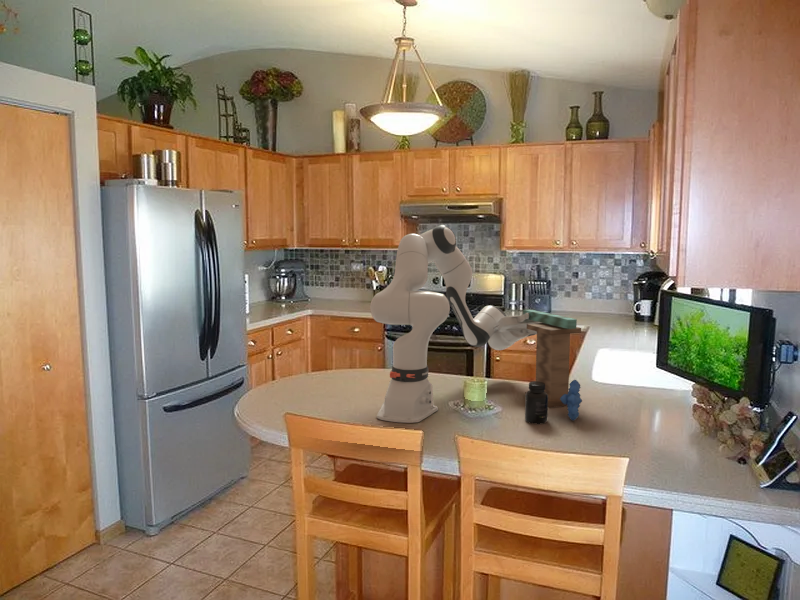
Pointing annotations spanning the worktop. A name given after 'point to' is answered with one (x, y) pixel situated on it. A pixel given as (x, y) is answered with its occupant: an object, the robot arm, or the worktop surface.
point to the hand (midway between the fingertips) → (534, 314)
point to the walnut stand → (553, 360)
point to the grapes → (572, 399)
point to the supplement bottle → (536, 403)
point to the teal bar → (552, 319)
